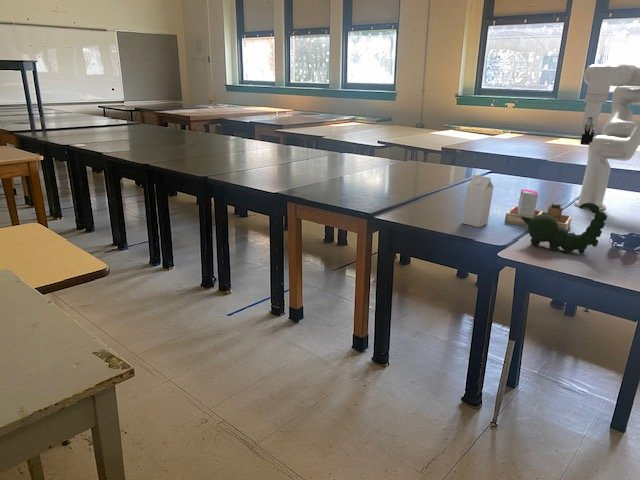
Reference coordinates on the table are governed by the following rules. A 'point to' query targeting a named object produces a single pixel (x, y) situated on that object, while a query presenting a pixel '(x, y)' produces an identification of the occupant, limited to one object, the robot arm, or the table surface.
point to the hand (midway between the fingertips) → (586, 143)
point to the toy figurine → (565, 231)
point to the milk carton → (478, 201)
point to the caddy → (553, 211)
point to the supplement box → (527, 203)
